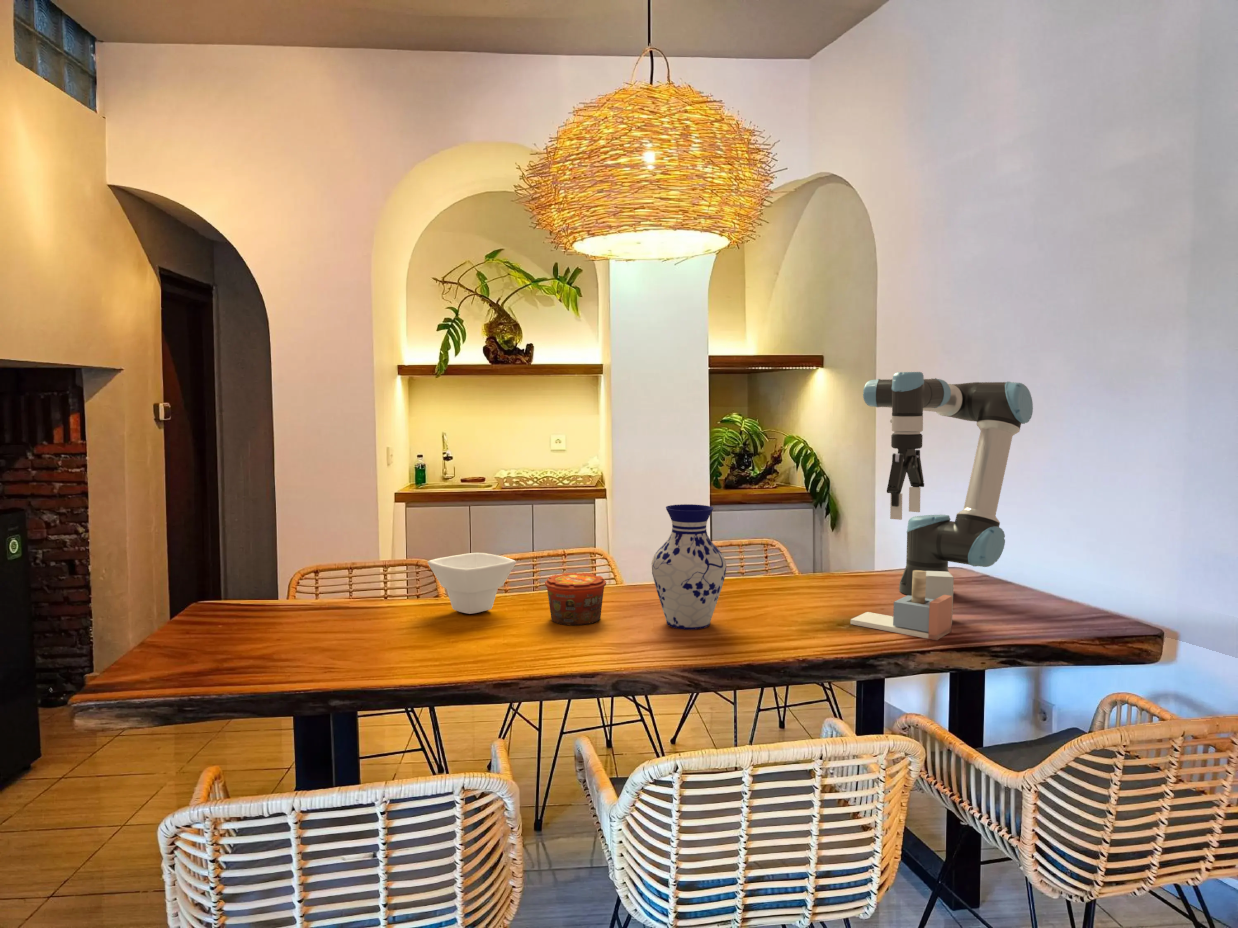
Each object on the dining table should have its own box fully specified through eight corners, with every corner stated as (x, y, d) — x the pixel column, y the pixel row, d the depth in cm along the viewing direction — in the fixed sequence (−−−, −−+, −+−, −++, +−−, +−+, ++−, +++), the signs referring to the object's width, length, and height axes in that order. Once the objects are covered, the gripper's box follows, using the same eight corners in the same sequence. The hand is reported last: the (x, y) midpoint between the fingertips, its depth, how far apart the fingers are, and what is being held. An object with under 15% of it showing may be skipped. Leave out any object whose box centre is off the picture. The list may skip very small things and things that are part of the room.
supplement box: (952, 625, 219) (954, 577, 218) (922, 624, 220) (923, 575, 219) (947, 618, 226) (949, 571, 225) (918, 616, 227) (919, 569, 226)
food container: (534, 623, 219) (534, 582, 218) (560, 609, 234) (560, 570, 233) (592, 630, 213) (592, 587, 213) (615, 614, 228) (615, 574, 228)
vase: (732, 617, 225) (734, 504, 223) (716, 637, 207) (718, 514, 205) (662, 611, 231) (663, 501, 229) (641, 629, 214) (642, 510, 211)
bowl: (522, 611, 231) (522, 560, 230) (464, 625, 217) (463, 571, 216) (479, 599, 244) (479, 551, 243) (421, 612, 230) (420, 560, 229)
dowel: (926, 618, 214) (928, 571, 213) (921, 621, 211) (923, 573, 210) (913, 616, 216) (915, 569, 215) (908, 619, 213) (910, 571, 212)
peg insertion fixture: (866, 616, 228) (867, 582, 227) (951, 631, 213) (952, 595, 213) (850, 623, 220) (851, 589, 219) (936, 640, 206) (938, 603, 205)
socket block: (907, 618, 220) (907, 595, 220) (942, 624, 214) (943, 600, 214) (893, 625, 213) (893, 601, 213) (929, 632, 207) (930, 607, 207)
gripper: (908, 429, 230) (907, 507, 233) (874, 435, 211) (873, 520, 213) (937, 430, 226) (935, 509, 228) (904, 436, 206) (903, 523, 208)
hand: (905, 515), depth 220 cm, fingers open, 13 cm apart
